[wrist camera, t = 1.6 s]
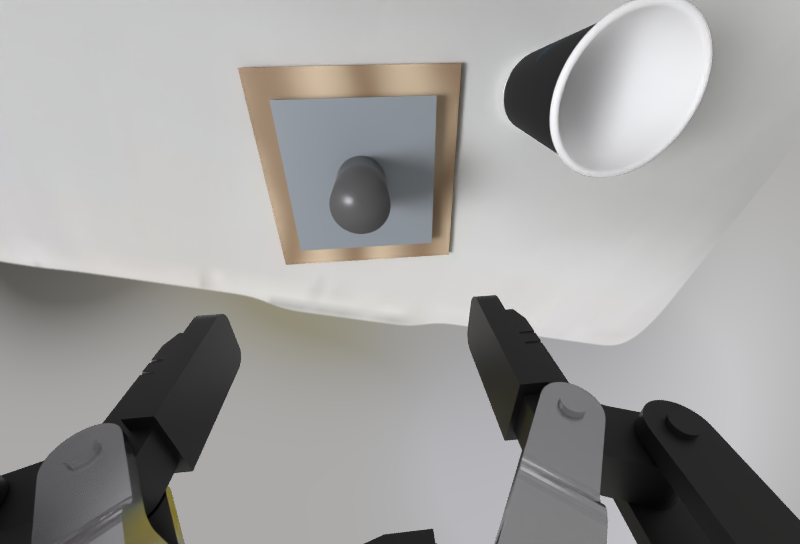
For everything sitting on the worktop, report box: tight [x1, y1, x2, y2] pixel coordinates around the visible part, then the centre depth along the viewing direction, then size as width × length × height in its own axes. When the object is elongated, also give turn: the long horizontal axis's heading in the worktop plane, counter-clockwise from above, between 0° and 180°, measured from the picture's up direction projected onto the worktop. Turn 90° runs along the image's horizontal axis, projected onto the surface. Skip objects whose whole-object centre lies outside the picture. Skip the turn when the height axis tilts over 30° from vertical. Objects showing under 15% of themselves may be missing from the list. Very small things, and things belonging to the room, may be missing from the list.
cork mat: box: [238, 63, 462, 265], centre depth 27 cm, size 16×16×1 cm
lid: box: [269, 95, 437, 251], centre depth 24 cm, size 12×12×7 cm
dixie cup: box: [503, 0, 713, 178], centre depth 20 cm, size 8×8×11 cm
